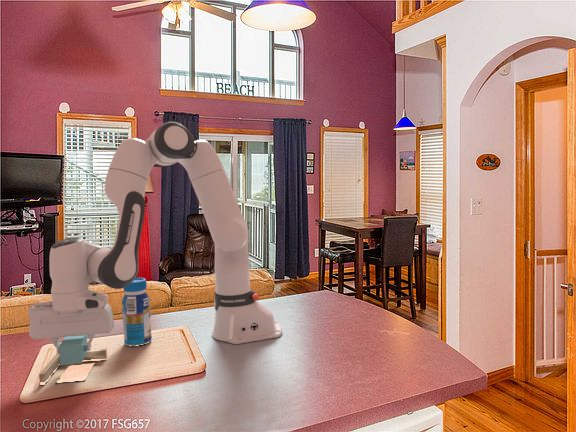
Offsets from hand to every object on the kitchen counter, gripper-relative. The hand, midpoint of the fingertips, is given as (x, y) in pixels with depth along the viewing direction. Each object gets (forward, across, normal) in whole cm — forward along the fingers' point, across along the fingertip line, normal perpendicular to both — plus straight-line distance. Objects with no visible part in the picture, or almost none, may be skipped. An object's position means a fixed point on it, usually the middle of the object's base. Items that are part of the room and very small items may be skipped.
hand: (74, 351), depth 117 cm
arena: (+6, 0, +1) cm, 6 cm away
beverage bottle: (+6, +13, +19) cm, 24 cm away
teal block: (+2, 0, 0) cm, 2 cm away
